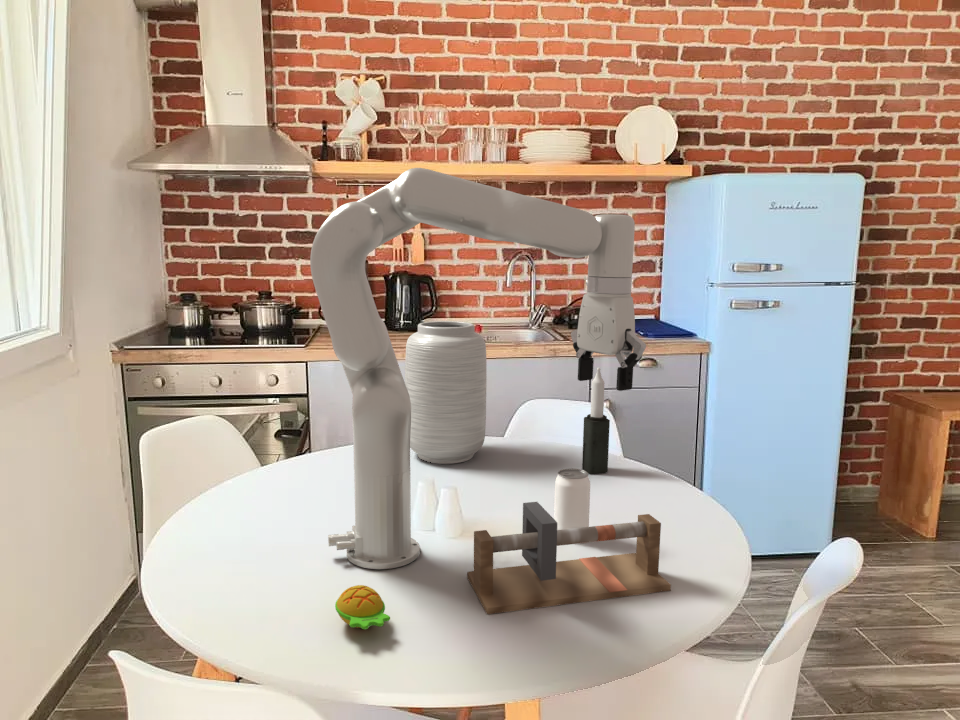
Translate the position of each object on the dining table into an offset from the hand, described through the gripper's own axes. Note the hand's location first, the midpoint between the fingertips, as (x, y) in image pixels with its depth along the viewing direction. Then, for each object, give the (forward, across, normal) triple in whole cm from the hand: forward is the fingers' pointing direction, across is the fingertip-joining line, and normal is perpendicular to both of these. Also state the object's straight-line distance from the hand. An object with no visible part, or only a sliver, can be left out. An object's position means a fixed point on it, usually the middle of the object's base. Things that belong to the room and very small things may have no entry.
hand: (604, 384), depth 127 cm
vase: (+30, -60, +5) cm, 67 cm away
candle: (+29, -30, +28) cm, 51 cm away
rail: (+29, +10, -16) cm, 35 cm away
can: (+29, -5, -2) cm, 30 cm away
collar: (+26, +8, -20) cm, 34 cm away
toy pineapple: (+30, +3, -48) cm, 57 cm away
